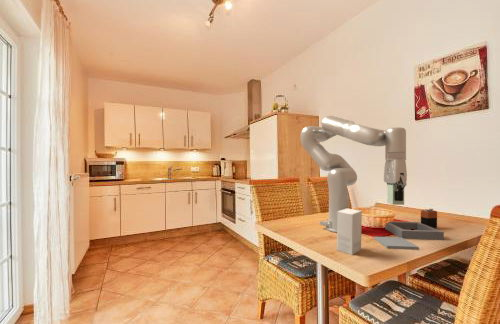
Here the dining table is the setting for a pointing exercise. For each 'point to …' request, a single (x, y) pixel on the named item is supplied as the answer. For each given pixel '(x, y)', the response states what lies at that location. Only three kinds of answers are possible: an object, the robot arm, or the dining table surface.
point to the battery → (429, 218)
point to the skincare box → (349, 230)
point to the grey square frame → (419, 232)
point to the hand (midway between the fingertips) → (395, 199)
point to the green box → (393, 195)
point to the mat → (396, 243)
